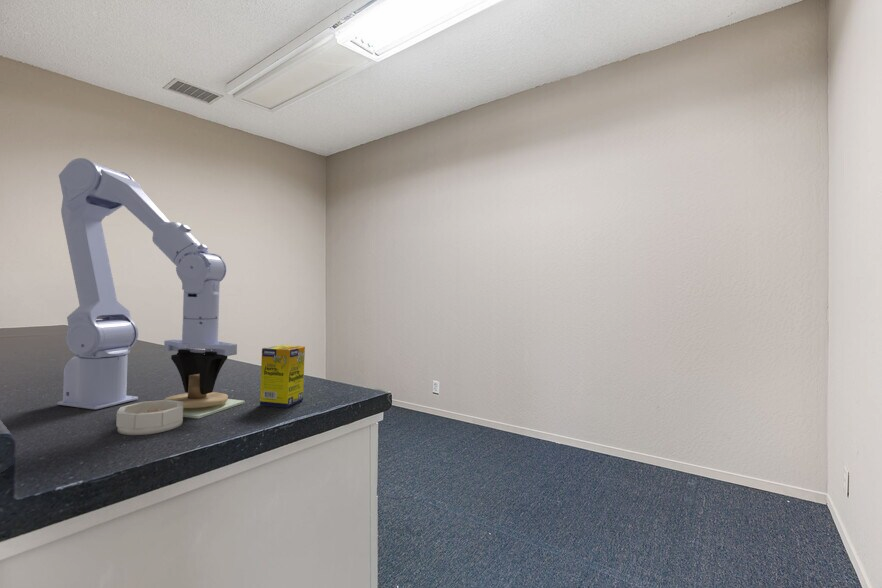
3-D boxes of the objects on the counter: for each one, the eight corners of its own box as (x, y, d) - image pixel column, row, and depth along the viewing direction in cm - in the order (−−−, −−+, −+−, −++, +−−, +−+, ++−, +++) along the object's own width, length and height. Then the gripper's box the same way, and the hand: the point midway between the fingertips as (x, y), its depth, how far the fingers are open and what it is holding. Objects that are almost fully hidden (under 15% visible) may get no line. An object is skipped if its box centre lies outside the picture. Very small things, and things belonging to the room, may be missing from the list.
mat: (146, 411, 73) (147, 409, 73) (198, 397, 84) (198, 395, 84) (198, 418, 70) (198, 416, 70) (244, 402, 81) (245, 400, 81)
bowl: (103, 431, 63) (104, 411, 63) (154, 416, 71) (155, 398, 71) (147, 437, 61) (147, 417, 61) (195, 421, 69) (195, 403, 69)
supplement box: (287, 408, 78) (289, 349, 78) (258, 405, 79) (260, 347, 79) (304, 400, 84) (305, 345, 84) (277, 398, 85) (278, 344, 85)
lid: (149, 404, 73) (151, 377, 73) (196, 394, 83) (197, 369, 83) (197, 410, 71) (199, 381, 71) (239, 398, 80) (241, 373, 81)
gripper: (149, 317, 75) (147, 393, 75) (216, 321, 71) (214, 401, 71) (183, 315, 82) (181, 385, 82) (246, 319, 78) (243, 392, 78)
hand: (198, 392), depth 77 cm, fingers closed on lid, 3 cm apart
